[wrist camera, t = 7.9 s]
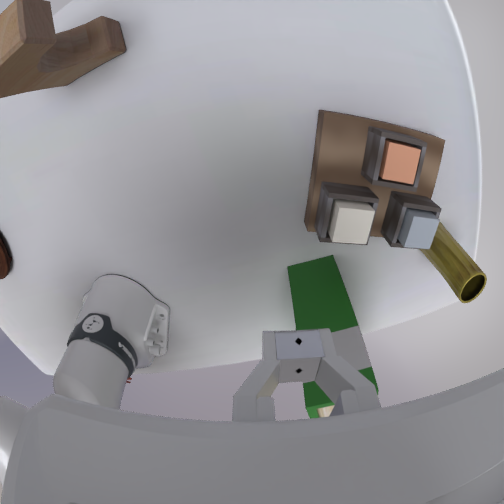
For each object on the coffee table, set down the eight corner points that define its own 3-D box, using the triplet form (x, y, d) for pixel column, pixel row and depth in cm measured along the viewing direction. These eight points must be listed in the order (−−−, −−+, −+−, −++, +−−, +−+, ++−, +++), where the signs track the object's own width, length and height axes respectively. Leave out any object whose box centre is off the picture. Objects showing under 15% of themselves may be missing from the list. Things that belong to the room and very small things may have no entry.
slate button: (419, 237, 35) (429, 249, 32) (394, 234, 35) (403, 247, 32) (428, 209, 33) (439, 220, 30) (403, 205, 33) (414, 216, 30)
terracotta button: (401, 175, 32) (413, 184, 29) (372, 170, 32) (382, 178, 29) (408, 143, 29) (420, 149, 27) (378, 136, 29) (389, 142, 27)
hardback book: (343, 326, 52) (370, 438, 32) (307, 335, 54) (322, 449, 34) (332, 255, 43) (378, 389, 23) (287, 266, 45) (305, 407, 24)
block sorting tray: (409, 230, 41) (429, 254, 35) (304, 221, 40) (312, 247, 34) (433, 135, 32) (461, 147, 26) (318, 109, 32) (333, 114, 26)
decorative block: (120, 19, 24) (20, -8, 7) (127, 53, 27) (24, 43, 10) (58, 55, 25) (-47, 66, 9) (65, 86, 28) (-41, 112, 12)
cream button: (358, 231, 35) (366, 244, 32) (326, 228, 35) (332, 242, 32) (365, 200, 32) (375, 211, 30) (332, 196, 32) (339, 207, 30)
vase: (416, 255, 43) (455, 311, 31) (413, 226, 40) (458, 281, 28) (443, 243, 42) (486, 295, 30) (442, 214, 39) (491, 263, 27)
